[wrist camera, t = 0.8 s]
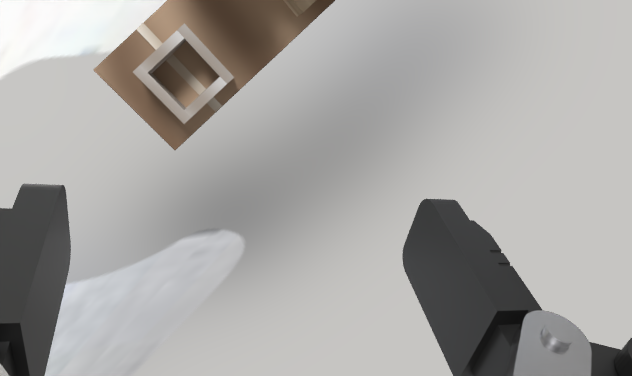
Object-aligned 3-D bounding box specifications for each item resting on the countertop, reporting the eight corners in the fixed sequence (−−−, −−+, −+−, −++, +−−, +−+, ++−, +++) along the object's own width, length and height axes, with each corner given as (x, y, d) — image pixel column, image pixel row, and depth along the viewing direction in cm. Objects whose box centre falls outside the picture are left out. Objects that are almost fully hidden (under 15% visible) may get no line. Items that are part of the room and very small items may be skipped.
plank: (299, -119, 35) (310, -143, 31) (367, -32, 37) (385, -44, 33) (98, 70, 35) (83, 69, 31) (176, 147, 37) (172, 155, 33)
